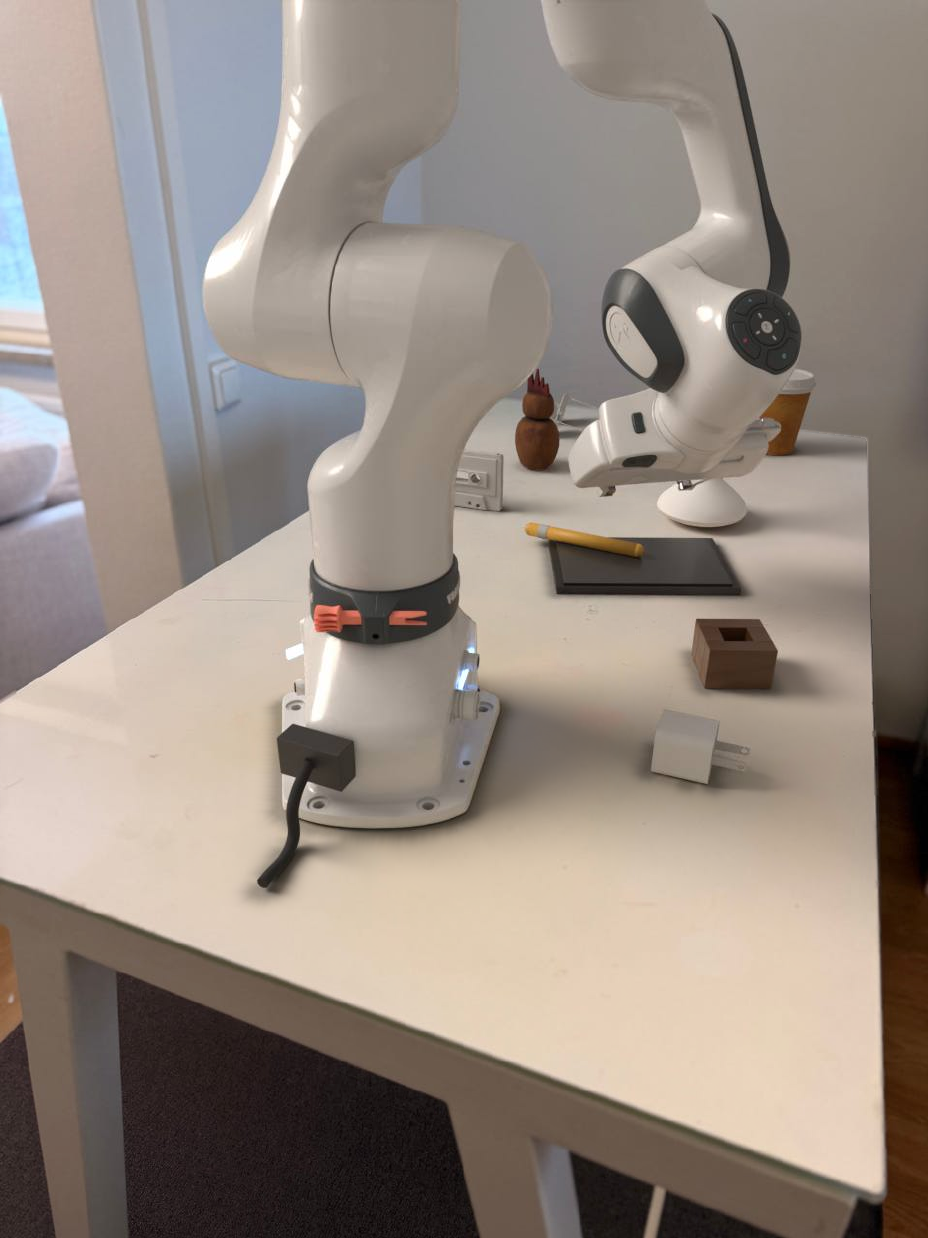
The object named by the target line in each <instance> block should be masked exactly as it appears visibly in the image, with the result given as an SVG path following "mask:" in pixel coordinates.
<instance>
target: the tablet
mask: <svg viewBox="0 0 928 1238" xmlns="http://www.w3.org/2000/svg"><path fill="white" fill-rule="evenodd" d="M607 537H608V538H613V539H618V540H623V541H628V542H633V543H638V544H641V545H642V546H643V548H644V553H643V555H642V556H640V557H632V556H627V555H622V554H617V553H613V552H608V551H603V550H598V549H593V548H588V547H583V546H578V545H573V544H568V543H563V542H559V541H554V540H549V539H547V544H548V550H549V555H550V562H551V568H552V575H553V581H554V588H555V593H556V594H557V595H560V594H562V595H563V594H565V595H566V594H567V595H568V594H569V595H570V594H571V595H573V594H574V595H575V594H576V595H577V594H578V595H581V594H582V595H597V594H598V595H696V596H697V595H698V596H699V595H709V596H710V595H711V596H713V595H714V596H715V595H717V596H718V595H721V596H726V595H727V596H741V592H742V587H741V585H740V583H739V582H738V580H737V578H736V576H735V575H734V573H733V571H732V570H731V568H730V566H729V564H728V563H727V561H726V559H725V557H724V556H723V554H722V552H721V550H720V549H719V547H718V545H717V543H716V542H715V540H714V538H713V537H639V536H637V537H635V536H634V537H633V536H632V537H630V536H629V537H628V536H627V537H622V536H621V537H619V536H618V537H617V536H615V537H614V536H613V537H611V536H610V537H609V536H607Z"/></svg>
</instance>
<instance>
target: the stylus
mask: <svg viewBox="0 0 928 1238" xmlns="http://www.w3.org/2000/svg"><path fill="white" fill-rule="evenodd" d="M524 532H525V534H526V535H527V536H529V537H535V538H538V539H542V540H548V539H549V540H554V541H559V542H563V543H568V544H573V545H578V546H583V547H588V548H593V549H598V550H603V551H608V552H613V553H617V554H622V555H627V556H632V557H640V556H642V555H643V553H644V548H643V546H642V545H641V544H638V543H633V542H628V541H623V540H618V539H613V538H608V537H609V536H607V537H606V536H602V535H596V534H591V533H587V532H582V531H576V530H572V529H566V528H561V527H556V526H551V525H549V524H543V523H536V522H528V523H527V524H526V525H525V527H524Z"/></svg>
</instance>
